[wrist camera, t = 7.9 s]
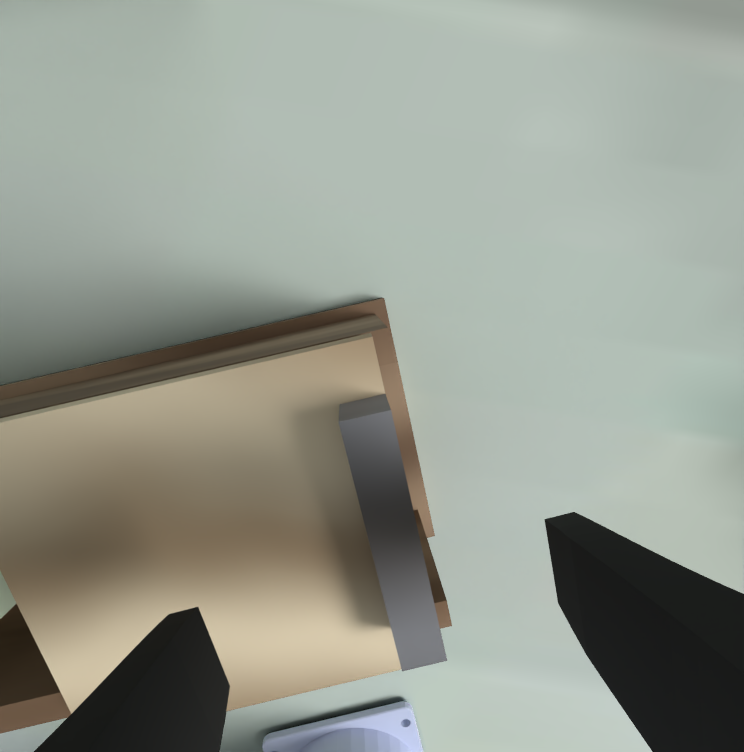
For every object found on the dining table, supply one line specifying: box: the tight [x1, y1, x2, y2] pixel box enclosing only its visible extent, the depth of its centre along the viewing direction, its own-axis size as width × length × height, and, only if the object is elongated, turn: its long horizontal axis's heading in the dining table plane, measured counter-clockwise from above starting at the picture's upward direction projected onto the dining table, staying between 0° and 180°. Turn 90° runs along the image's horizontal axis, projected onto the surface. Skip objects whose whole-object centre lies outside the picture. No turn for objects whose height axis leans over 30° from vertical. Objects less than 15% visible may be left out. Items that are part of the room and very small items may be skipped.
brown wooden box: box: [0, 298, 452, 733], centre depth 15 cm, size 11×24×6 cm, turn 103°
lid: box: [0, 333, 447, 714], centre depth 11 cm, size 10×11×2 cm
